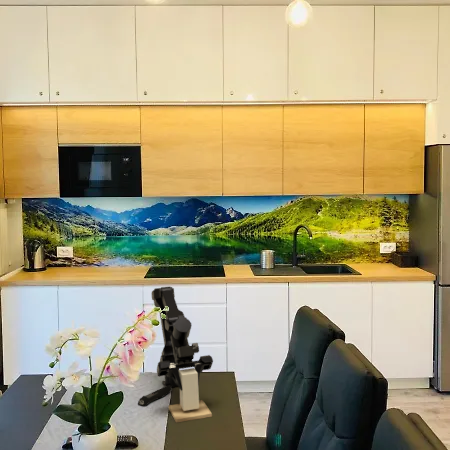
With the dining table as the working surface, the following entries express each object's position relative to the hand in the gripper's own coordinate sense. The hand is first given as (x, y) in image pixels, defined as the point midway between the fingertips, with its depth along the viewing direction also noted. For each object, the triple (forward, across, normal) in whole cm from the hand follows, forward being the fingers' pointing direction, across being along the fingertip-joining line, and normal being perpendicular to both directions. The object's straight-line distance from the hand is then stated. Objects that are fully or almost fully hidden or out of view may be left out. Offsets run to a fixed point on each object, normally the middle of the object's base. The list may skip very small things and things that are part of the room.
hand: (189, 388), depth 180 cm
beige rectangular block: (+4, 0, +6) cm, 7 cm away
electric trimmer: (-6, -9, +19) cm, 22 cm away
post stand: (+5, 0, +7) cm, 9 cm away
